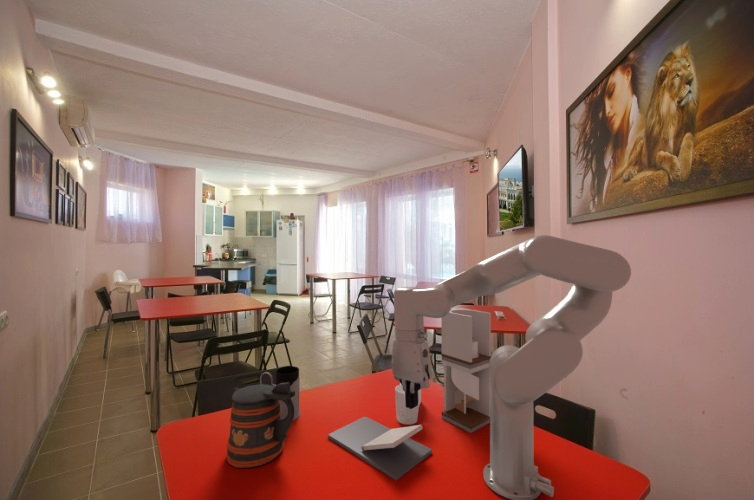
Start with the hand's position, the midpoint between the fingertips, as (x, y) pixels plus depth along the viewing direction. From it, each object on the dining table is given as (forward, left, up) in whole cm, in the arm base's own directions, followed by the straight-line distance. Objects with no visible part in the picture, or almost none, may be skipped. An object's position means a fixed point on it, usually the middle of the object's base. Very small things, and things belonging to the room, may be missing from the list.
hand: (411, 406), depth 84 cm
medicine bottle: (+21, -26, -15) cm, 36 cm away
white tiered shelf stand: (+1, -30, -15) cm, 33 cm away
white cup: (+15, -17, -15) cm, 27 cm away
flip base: (+12, 0, -15) cm, 19 cm away
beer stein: (+32, +24, -15) cm, 43 cm away
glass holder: (+48, +10, -15) cm, 51 cm away
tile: (+7, 0, -10) cm, 12 cm away
